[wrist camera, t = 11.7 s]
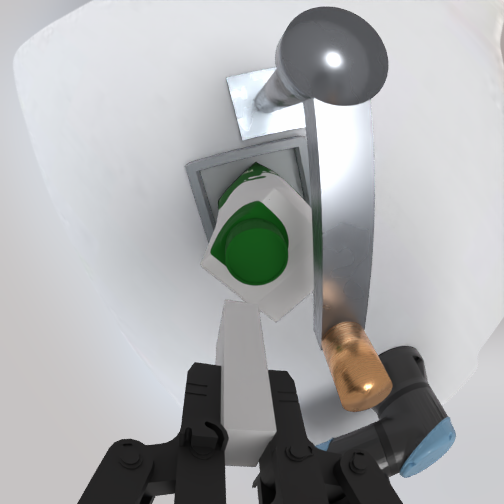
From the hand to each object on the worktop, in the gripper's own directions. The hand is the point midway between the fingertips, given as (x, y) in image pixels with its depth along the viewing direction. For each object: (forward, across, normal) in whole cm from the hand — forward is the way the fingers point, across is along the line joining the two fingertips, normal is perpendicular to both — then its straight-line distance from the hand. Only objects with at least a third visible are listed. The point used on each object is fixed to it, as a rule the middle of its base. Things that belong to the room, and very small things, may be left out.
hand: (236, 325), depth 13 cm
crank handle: (+2, +3, +6) cm, 8 cm away
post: (+26, +2, +12) cm, 29 cm away
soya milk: (+26, +3, 0) cm, 26 cm away
